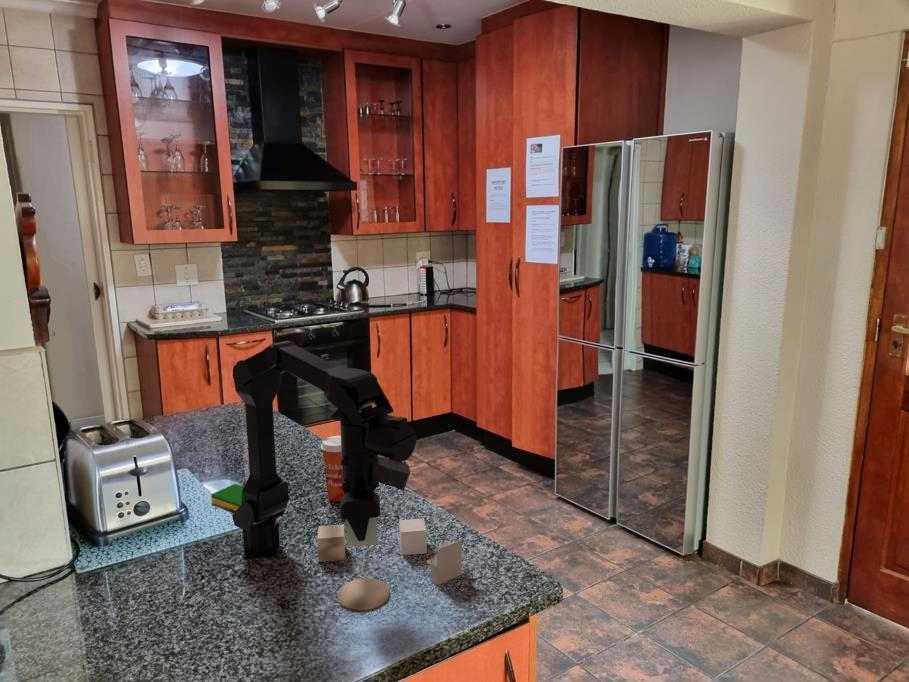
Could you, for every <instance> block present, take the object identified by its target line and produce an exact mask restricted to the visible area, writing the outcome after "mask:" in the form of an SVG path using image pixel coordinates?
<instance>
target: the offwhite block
mask: <svg viewBox="0 0 909 682" xmlns="http://www.w3.org/2000/svg"><path fill="white" fill-rule="evenodd" d="M398 522H399V523H398V524H399V525H398V528H399V548H400V554H401V556H409V555H420V554H422V555H424V554H427V553H428V552H427V551H428V550H427V545H428V544H427V527H426V523H425V518H423V517H422V518H412V519H411V518H410V519H400V520H399V521H398Z"/></svg>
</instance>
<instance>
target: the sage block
mask: <svg viewBox="0 0 909 682" xmlns="http://www.w3.org/2000/svg"><path fill="white" fill-rule="evenodd" d="M345 521H346V522H345V523H346V543H347V544H346V546H347V548H350V547H359V546H360V547H362V546H364V547H365V546H374V545H378V527H377V525H378V523H377V518H369V523H368V527H367V532H366V537H365V540H364V541H358V539H357V537H356V536H355V534H354V532H353V530H352V528H351V526H350V525H349V523H348V521H347V520H345Z"/></svg>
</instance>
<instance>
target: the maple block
mask: <svg viewBox="0 0 909 682" xmlns="http://www.w3.org/2000/svg"><path fill="white" fill-rule="evenodd" d="M317 529H318V530H317V539H316V540H317V541H316V542H317V559H318V560H317V561H318V563H322V562H333V561H345V559H346V539H345V538H346V537H345V524H344V523H343V524H330V525H319V526H318V528H317Z"/></svg>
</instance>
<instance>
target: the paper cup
mask: <svg viewBox="0 0 909 682" xmlns="http://www.w3.org/2000/svg"><path fill="white" fill-rule="evenodd" d="M320 449H321V451H322V459H323V467H324V468H323V469H324V479H325V487H326V488H325V489H326V494H327V495H326V496H327V499H328V501H331V502H334V503H340V502H341V498H342V497H343V496H344V491H343V488H342V465H341V435H333V436H328V437H326V438H325V439H323V440H322V443H321V445H320Z"/></svg>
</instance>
